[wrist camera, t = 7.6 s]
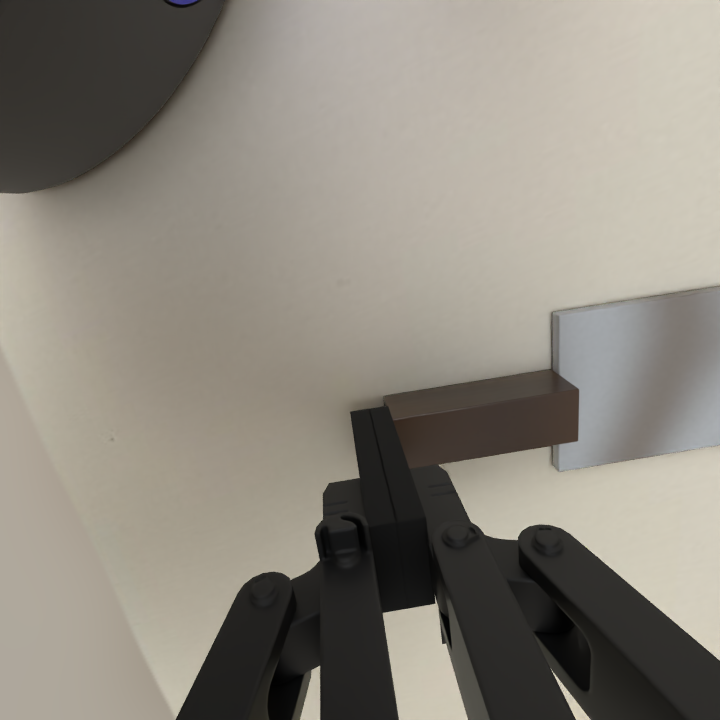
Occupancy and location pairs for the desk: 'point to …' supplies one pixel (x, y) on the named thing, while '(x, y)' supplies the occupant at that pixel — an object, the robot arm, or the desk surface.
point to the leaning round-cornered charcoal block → (87, 79)
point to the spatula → (586, 391)
